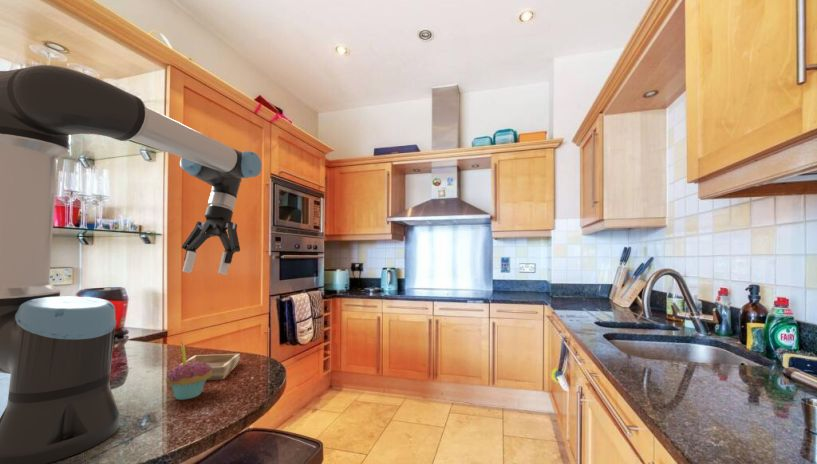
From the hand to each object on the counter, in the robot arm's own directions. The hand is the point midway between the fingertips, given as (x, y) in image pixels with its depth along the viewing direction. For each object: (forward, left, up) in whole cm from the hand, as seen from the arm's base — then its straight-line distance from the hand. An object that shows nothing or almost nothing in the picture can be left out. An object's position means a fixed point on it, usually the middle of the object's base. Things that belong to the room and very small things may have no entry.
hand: (204, 273), depth 99 cm
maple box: (-12, -7, -26) cm, 30 cm away
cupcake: (-27, -9, -26) cm, 39 cm away
